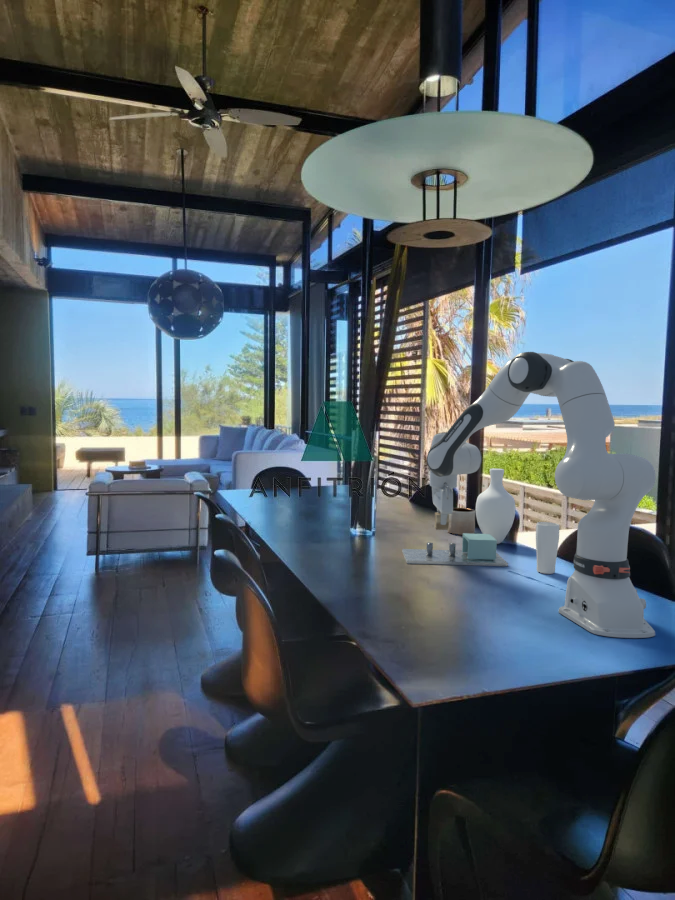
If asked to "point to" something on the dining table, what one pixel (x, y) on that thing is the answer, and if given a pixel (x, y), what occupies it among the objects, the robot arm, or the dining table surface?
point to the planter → (462, 521)
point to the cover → (479, 546)
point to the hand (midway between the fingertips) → (441, 522)
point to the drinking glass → (546, 546)
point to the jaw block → (437, 522)
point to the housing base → (447, 557)
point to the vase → (495, 508)
